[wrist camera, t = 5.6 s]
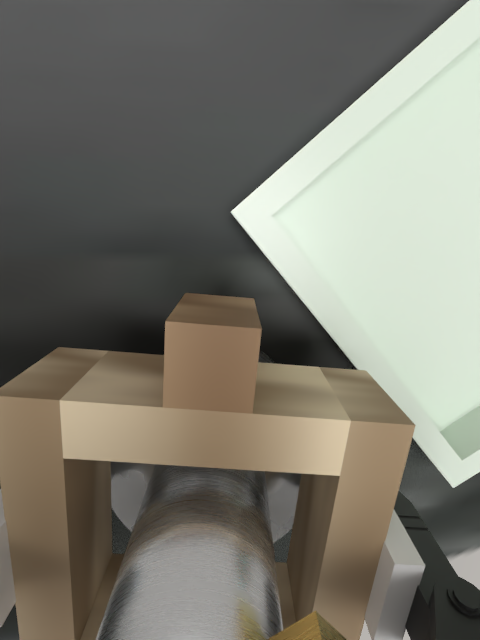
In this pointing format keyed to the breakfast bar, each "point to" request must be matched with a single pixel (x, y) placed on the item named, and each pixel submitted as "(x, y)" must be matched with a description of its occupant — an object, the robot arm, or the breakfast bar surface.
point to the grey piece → (203, 554)
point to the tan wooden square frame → (194, 461)
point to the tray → (395, 237)
